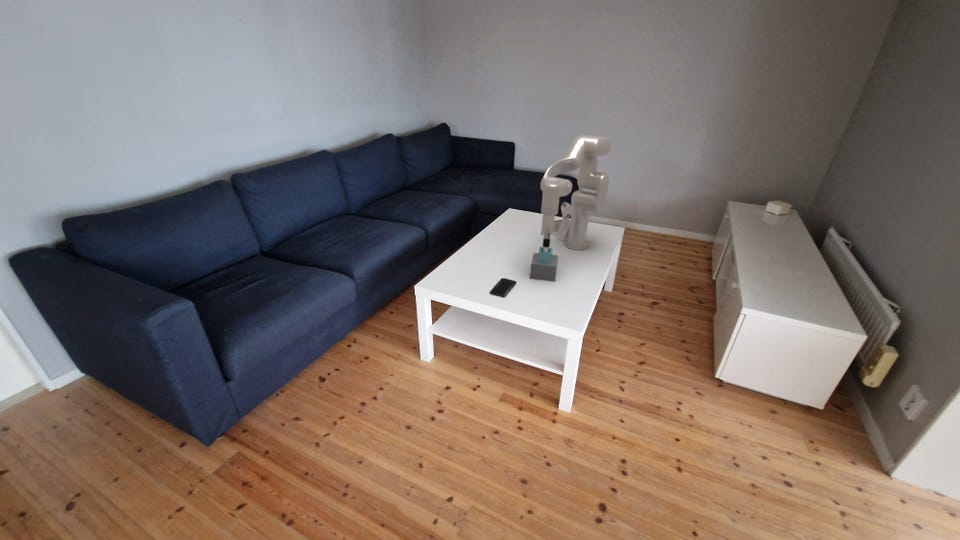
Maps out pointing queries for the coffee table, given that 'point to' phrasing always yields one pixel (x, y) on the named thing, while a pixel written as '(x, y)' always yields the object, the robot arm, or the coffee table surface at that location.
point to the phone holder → (563, 223)
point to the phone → (503, 287)
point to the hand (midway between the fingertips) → (546, 246)
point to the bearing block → (543, 268)
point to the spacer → (545, 255)
